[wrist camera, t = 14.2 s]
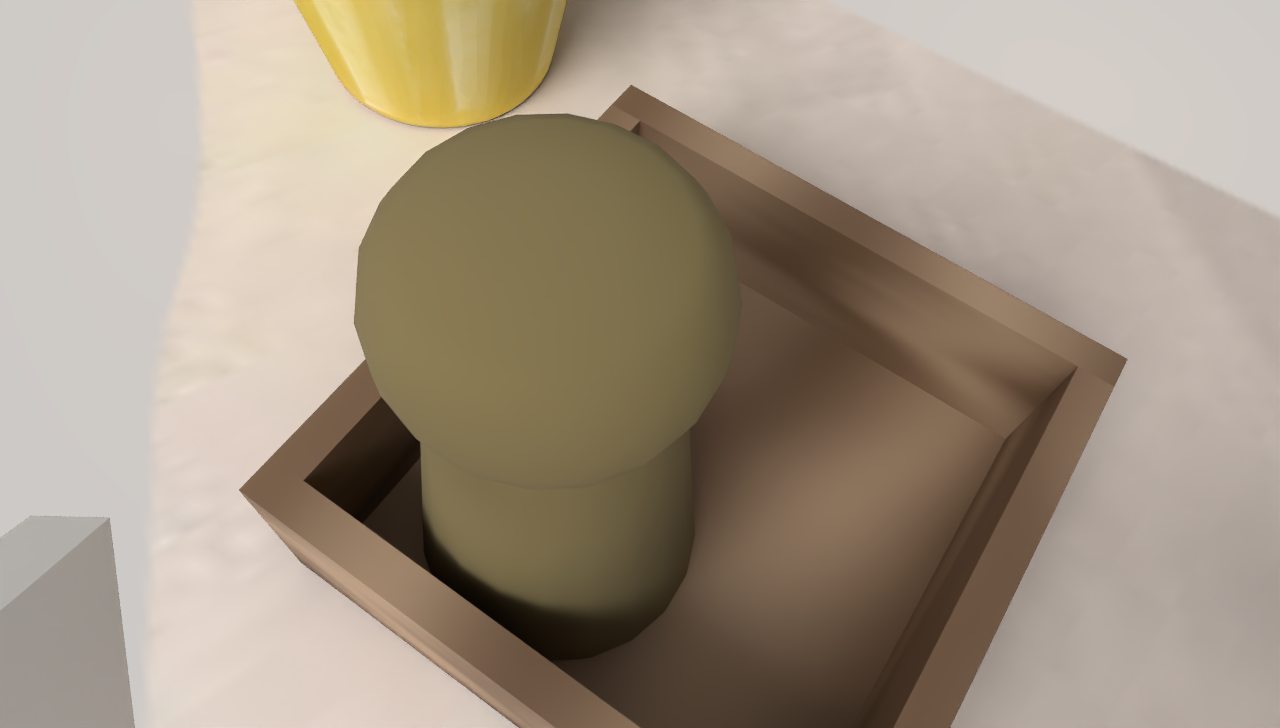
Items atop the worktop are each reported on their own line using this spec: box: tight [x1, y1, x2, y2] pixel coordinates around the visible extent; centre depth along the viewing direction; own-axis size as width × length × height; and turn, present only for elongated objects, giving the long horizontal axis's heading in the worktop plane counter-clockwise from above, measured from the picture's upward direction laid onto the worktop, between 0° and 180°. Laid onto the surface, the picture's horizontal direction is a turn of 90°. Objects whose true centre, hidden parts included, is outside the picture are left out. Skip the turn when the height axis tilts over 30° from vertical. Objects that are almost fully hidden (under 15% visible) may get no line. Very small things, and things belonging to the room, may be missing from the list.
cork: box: [354, 114, 742, 661], centre depth 16 cm, size 6×6×11 cm
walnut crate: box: [239, 85, 1127, 728], centre depth 20 cm, size 13×13×4 cm
